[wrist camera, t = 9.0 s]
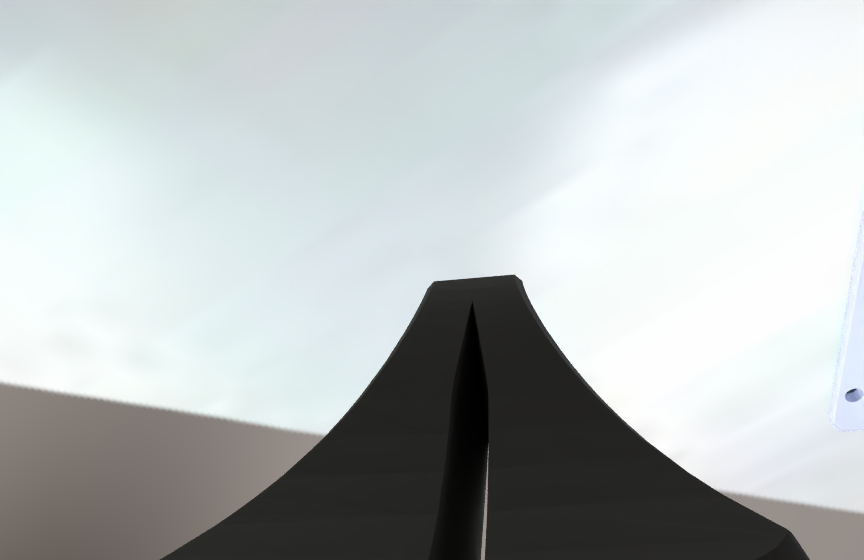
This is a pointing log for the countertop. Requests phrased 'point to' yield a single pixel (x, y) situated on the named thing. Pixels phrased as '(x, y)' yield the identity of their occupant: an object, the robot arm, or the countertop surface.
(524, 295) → the robot arm
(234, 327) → the countertop surface
